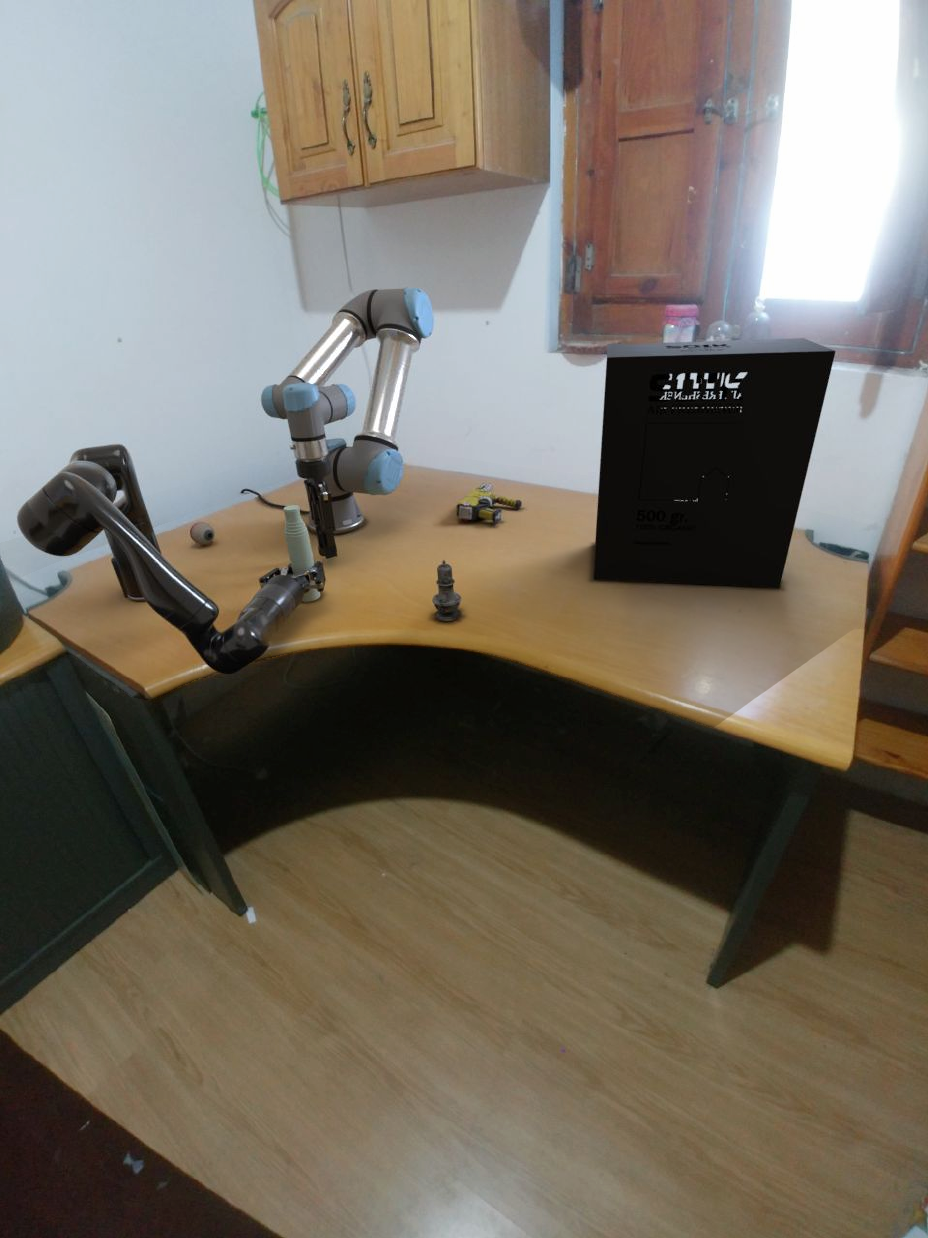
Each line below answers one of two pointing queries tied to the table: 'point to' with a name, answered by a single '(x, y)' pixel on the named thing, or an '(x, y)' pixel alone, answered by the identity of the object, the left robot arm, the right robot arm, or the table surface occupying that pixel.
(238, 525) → the table surface
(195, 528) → the eyeball
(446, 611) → the salt shaker
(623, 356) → the cardboard box
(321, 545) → the cap
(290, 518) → the bottle
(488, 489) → the toy gun
